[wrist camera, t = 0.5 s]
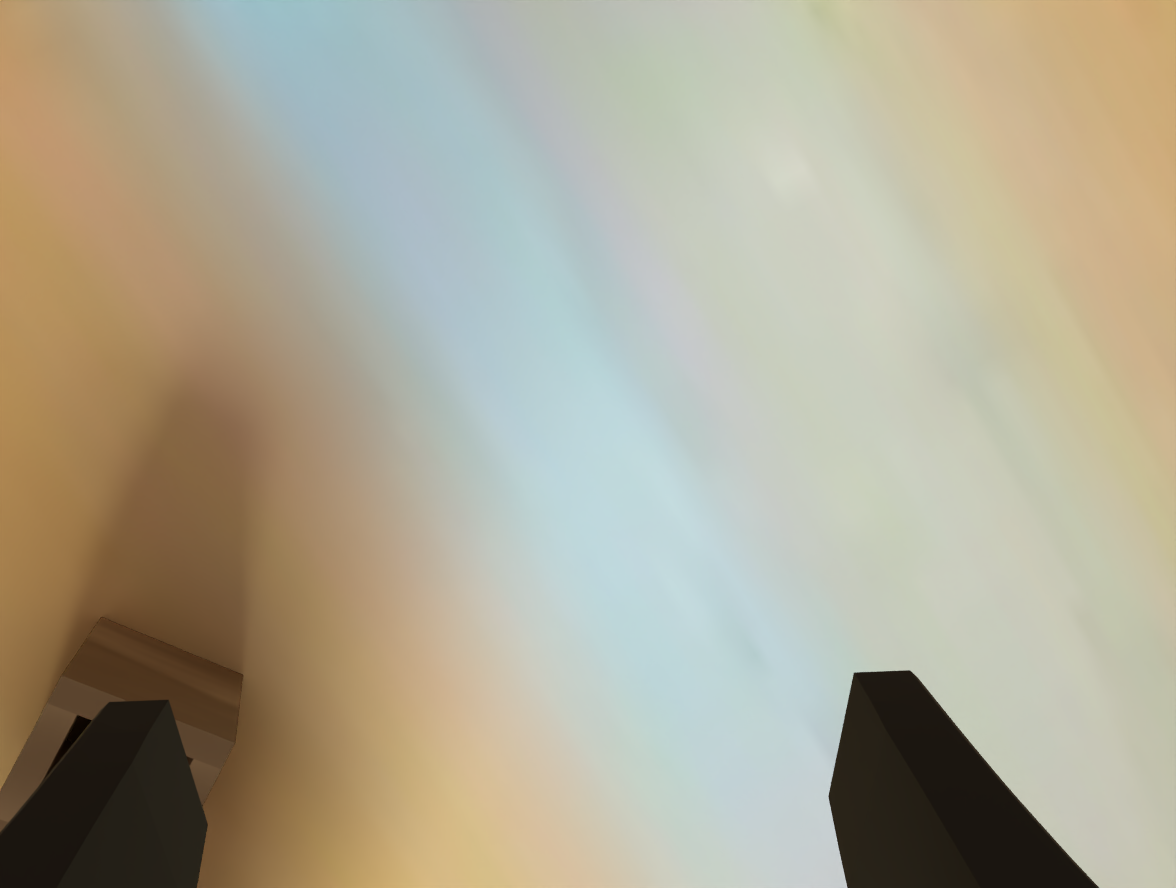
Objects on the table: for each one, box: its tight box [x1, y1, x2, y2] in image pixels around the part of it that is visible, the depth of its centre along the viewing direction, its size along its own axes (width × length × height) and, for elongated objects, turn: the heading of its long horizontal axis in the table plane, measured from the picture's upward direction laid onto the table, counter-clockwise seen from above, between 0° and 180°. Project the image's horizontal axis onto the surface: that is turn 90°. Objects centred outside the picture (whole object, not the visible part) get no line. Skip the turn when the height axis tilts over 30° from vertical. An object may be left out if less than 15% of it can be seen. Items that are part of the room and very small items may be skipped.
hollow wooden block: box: [0, 617, 243, 832], centre depth 29 cm, size 4×4×6 cm
